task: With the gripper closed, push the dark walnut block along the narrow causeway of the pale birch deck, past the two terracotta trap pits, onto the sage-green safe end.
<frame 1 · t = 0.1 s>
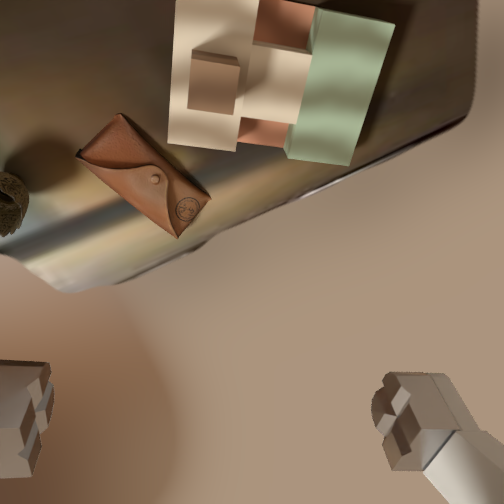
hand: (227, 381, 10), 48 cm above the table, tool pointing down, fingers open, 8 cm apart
sunglasses case: (149, 175, 58), on the table
cup: (12, 182, 56), on the table
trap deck: (270, 78, 52), on the table
walnut block: (211, 76, 47), point 4 cm above the table, touching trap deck
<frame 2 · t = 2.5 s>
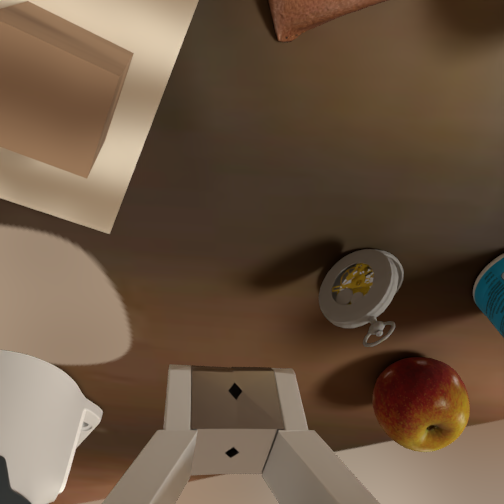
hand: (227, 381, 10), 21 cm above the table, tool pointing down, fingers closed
pocket watch: (356, 267, 37), on the table
walnut block: (70, 77, 21), point 4 cm above the table, touching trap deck
fruit: (403, 370, 46), on the table
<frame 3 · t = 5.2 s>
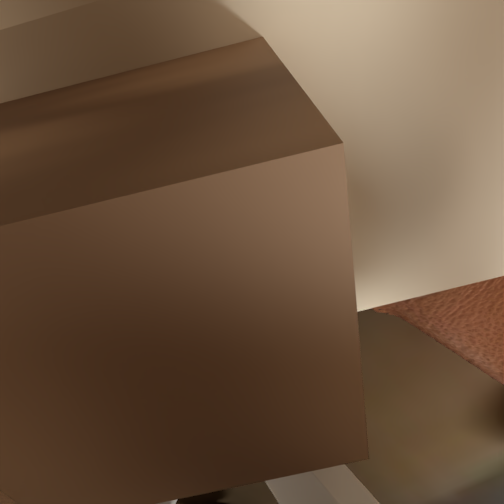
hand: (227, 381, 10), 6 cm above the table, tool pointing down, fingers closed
walnut block: (170, 193, 9), point 4 cm above the table, touching gripper
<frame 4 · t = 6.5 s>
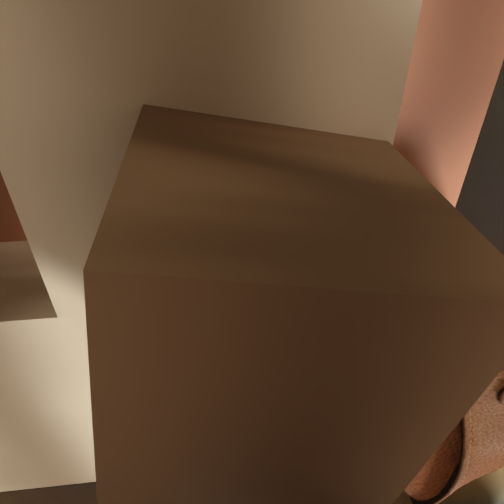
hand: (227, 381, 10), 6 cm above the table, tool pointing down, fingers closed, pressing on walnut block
sunglasses case: (484, 347, 21), on the table
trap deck: (203, 123, 12), on the table
walnut block: (250, 229, 10), point 4 cm above the table, touching gripper
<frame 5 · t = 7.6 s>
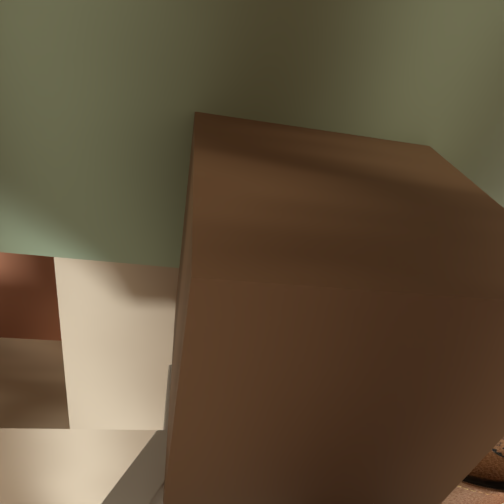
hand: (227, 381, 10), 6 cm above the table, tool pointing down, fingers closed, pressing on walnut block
sunglasses case: (394, 441, 25), on the table
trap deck: (205, 278, 15), on the table
walnut block: (290, 232, 10), point 4 cm above the table, touching gripper
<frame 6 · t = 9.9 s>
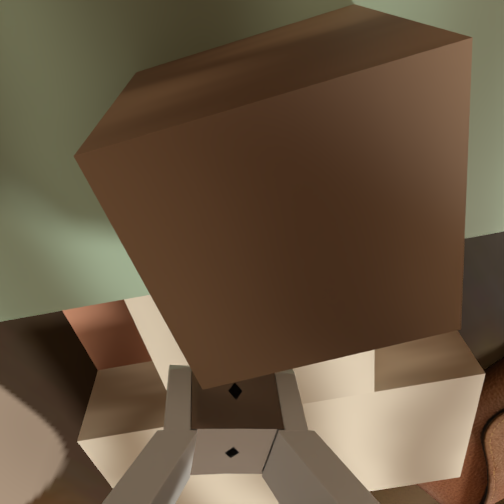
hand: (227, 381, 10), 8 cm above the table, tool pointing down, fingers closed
sunglasses case: (503, 388, 25), on the table
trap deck: (255, 281, 18), on the table
walnut block: (269, 144, 11), point 4 cm above the table, touching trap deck
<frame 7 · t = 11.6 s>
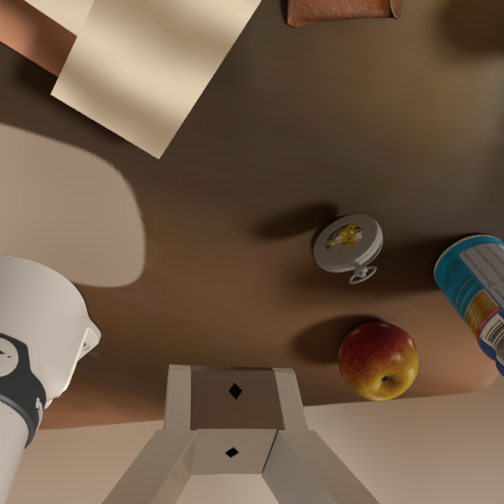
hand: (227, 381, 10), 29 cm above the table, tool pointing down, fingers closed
pocket watch: (345, 232, 44), on the table
blue labeled canister: (465, 260, 48), on the table
fruit: (367, 334, 54), on the table
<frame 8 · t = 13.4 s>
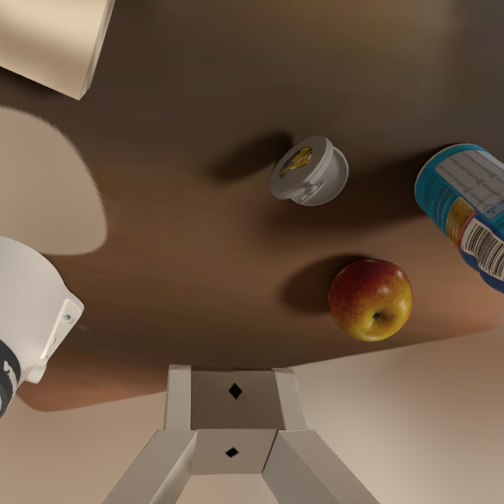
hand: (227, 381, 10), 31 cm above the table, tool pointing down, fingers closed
pocket watch: (306, 162, 41), on the table
blue labeled canister: (449, 177, 44), on the table
fruit: (359, 276, 51), on the table
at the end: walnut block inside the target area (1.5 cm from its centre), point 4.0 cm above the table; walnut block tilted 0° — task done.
